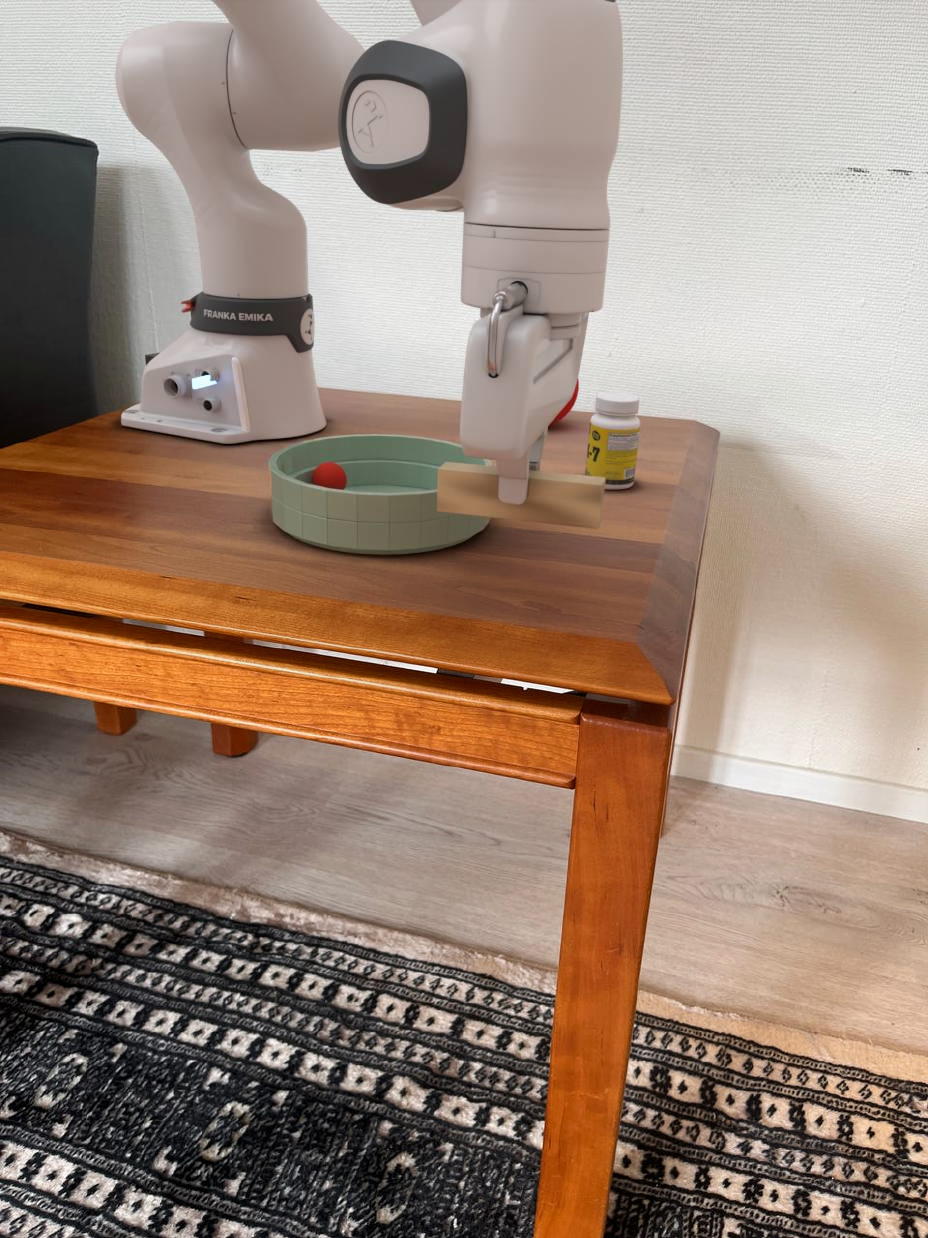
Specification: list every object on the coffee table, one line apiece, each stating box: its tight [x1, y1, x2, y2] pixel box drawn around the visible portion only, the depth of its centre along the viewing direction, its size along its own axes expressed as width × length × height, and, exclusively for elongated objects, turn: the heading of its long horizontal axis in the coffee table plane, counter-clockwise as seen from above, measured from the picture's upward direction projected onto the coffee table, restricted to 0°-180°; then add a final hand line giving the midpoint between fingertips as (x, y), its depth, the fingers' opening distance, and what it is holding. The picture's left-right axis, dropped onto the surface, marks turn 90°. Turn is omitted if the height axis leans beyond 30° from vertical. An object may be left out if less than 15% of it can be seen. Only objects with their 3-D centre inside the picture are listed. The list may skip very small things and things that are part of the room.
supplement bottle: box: [584, 391, 641, 491], centre depth 94 cm, size 5×5×8 cm
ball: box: [312, 462, 347, 490], centre depth 86 cm, size 3×3×3 cm
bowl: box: [267, 433, 493, 556], centre depth 82 cm, size 18×18×5 cm
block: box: [437, 462, 606, 530], centre depth 66 cm, size 11×2×3 cm, turn 75°
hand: (518, 493), depth 66 cm, fingers closed on block, 2 cm apart
